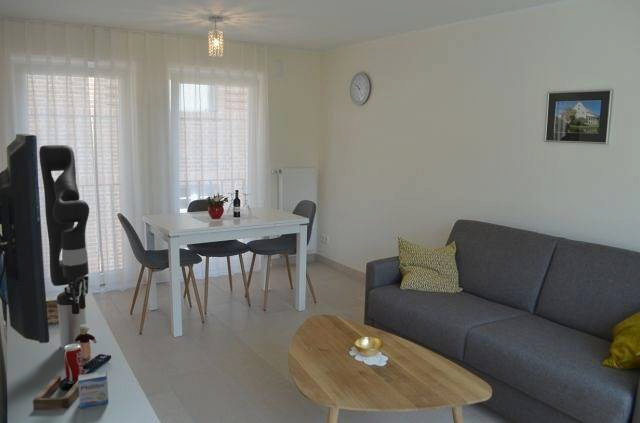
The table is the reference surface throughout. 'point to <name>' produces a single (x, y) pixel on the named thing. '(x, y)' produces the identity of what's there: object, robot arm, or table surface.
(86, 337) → the grandmother figurine
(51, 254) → the robot arm
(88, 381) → the medicine box
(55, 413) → the table surface
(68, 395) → the u rest
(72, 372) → the soda can
